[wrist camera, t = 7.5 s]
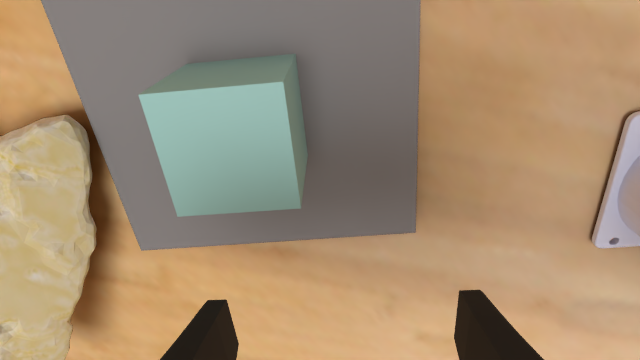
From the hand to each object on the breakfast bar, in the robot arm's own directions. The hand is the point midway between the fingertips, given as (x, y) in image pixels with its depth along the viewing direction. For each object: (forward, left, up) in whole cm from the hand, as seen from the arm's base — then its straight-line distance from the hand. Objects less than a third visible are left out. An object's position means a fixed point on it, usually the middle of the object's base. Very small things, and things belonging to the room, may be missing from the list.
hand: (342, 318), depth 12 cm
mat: (+4, -4, -10) cm, 11 cm away
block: (+4, -4, -9) cm, 11 cm away
